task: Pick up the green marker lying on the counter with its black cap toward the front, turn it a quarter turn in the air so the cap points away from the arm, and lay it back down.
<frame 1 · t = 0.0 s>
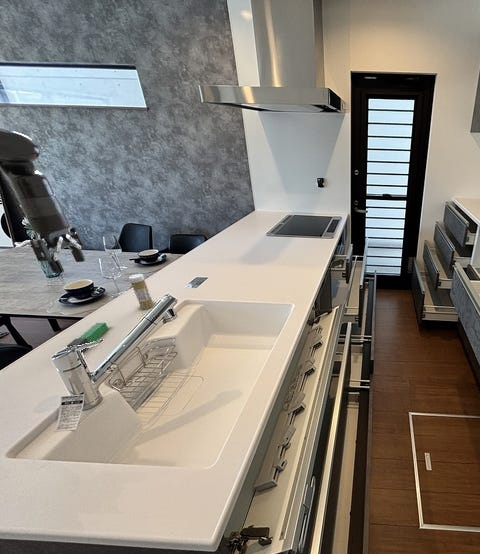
hand: (70, 266, 90), 26 cm above the counter, tool pointing down, fingers open, 8 cm apart
marker: (81, 349, 97), on the counter
sprinkles bottle: (147, 306, 121), on the counter
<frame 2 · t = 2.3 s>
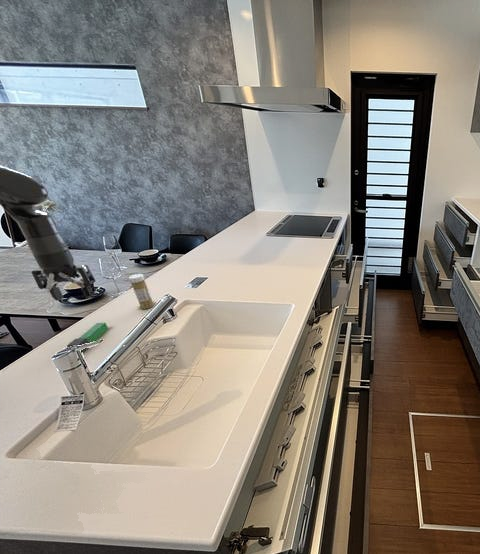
hand: (74, 298, 95), 16 cm above the counter, tool pointing down, fingers open, 8 cm apart
nothing on the counter moved.
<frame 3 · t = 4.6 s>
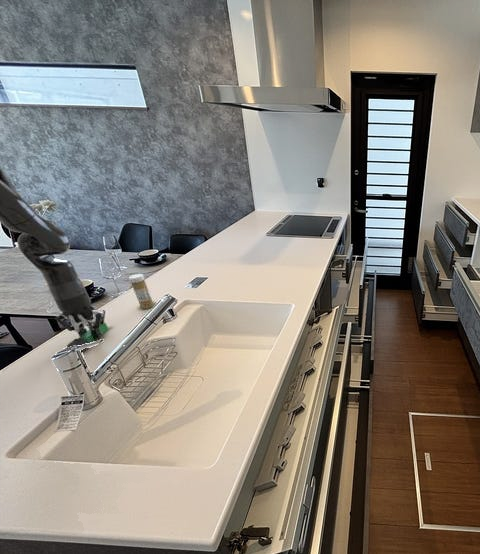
hand: (92, 338, 102), 0 cm above the counter, tool pointing down, fingers closed on marker, 2 cm apart
marker: (81, 349, 97), on the counter, touching gripper
everything else where it was.
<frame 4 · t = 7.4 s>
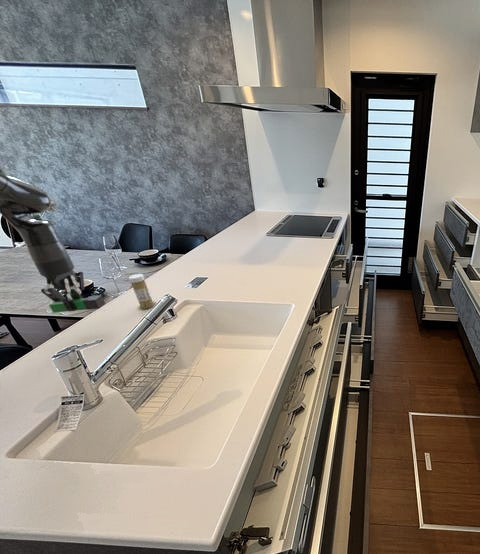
hand: (76, 307, 97), 12 cm above the counter, tool pointing down, fingers closed on marker, 2 cm apart
marker: (96, 306, 97), point 12 cm above the counter, touching gripper
everything else where it was.
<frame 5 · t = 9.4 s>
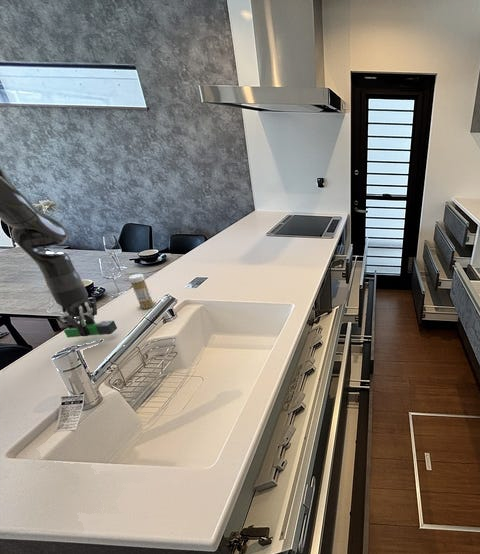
hand: (89, 332, 100), 3 cm above the counter, tool pointing down, fingers closed on marker, 2 cm apart
marker: (108, 331, 101), point 3 cm above the counter, touching gripper
everything else where it was.
when the fingers open (0 cm above the counter, at t = 10.3 s): marker stays where it is, on the counter.
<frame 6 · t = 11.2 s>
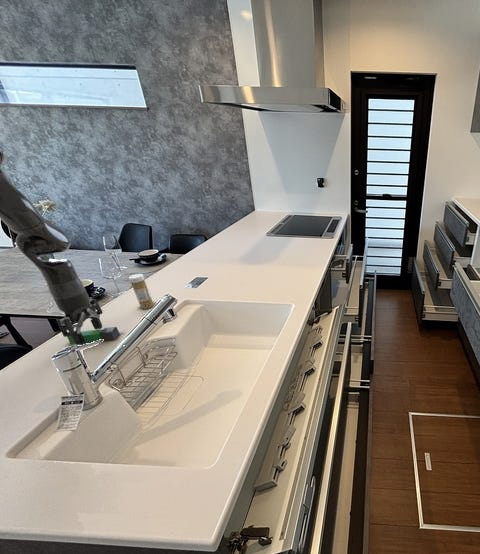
hand: (90, 335, 101), 2 cm above the counter, tool pointing down, fingers open, 8 cm apart
marker: (111, 337, 102), on the counter
everything else where it was.
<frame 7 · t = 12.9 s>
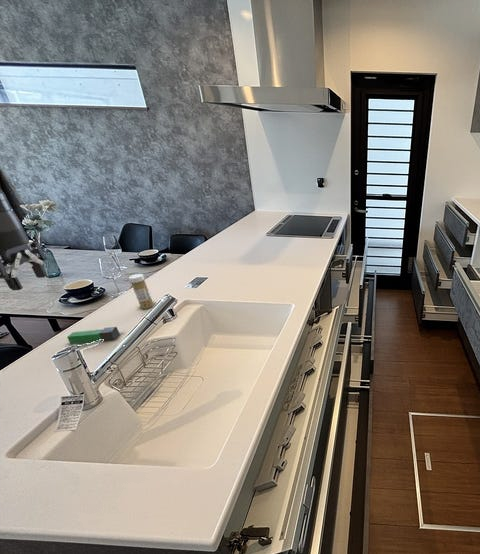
hand: (30, 283, 87), 24 cm above the counter, tool pointing down, fingers open, 8 cm apart
nothing on the counter moved.
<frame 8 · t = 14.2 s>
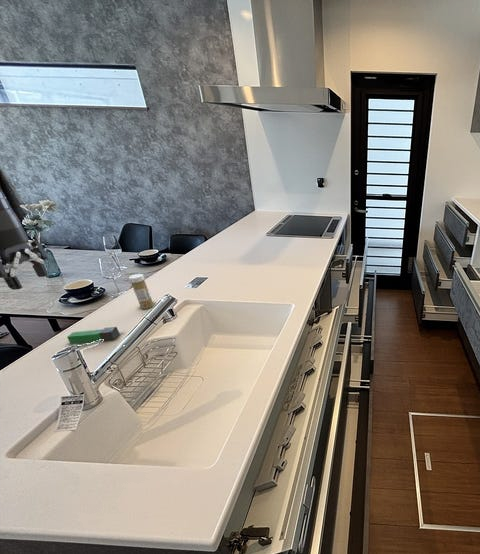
hand: (31, 282, 87), 24 cm above the counter, tool pointing down, fingers open, 8 cm apart
nothing on the counter moved.
at the end: marker 0.3 cm from the target spot, on the counter; marker tilted 0°; the gripper is holding nothing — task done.
